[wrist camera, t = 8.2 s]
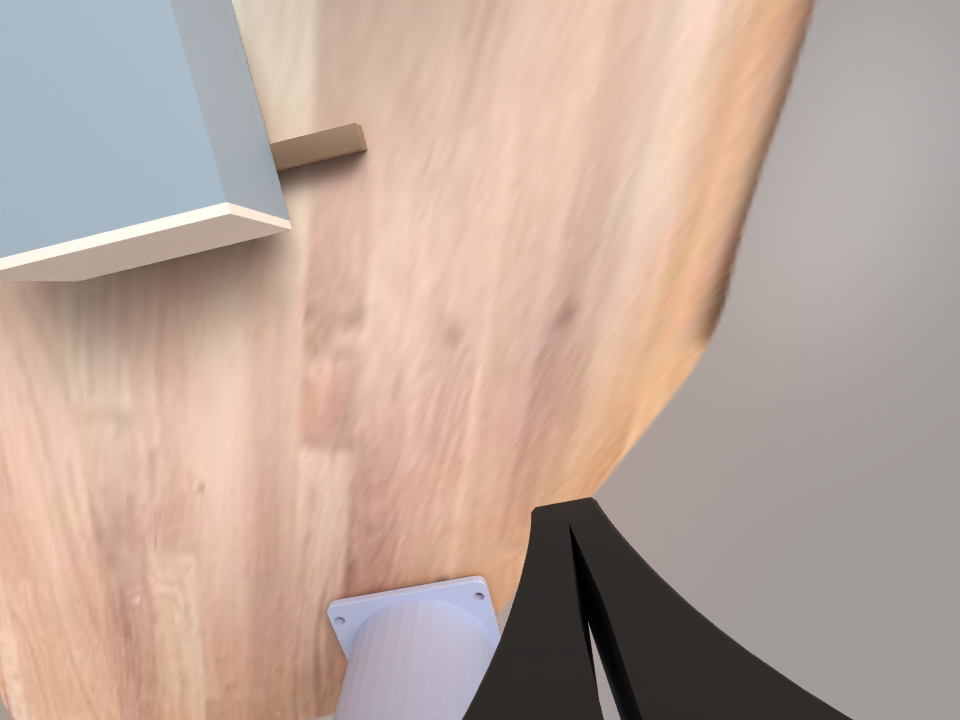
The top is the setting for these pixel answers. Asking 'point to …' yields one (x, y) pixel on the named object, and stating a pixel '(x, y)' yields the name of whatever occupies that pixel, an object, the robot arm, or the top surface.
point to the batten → (318, 147)
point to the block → (127, 137)
